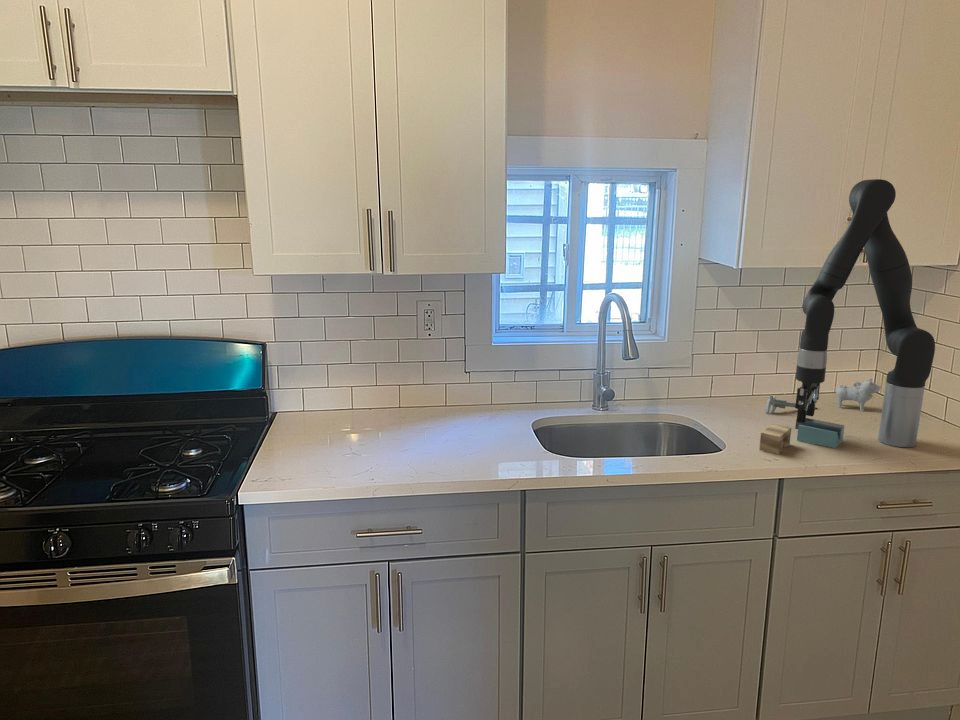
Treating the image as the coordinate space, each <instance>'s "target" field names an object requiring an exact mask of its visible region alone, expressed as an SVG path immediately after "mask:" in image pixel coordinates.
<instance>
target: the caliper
mask: <svg viewBox="0 0 960 720" xmlns="http://www.w3.org/2000/svg"><path fill="white" fill-rule="evenodd" d="M776 397H777V396H776V395H772V394H771V395H769V398H767V401H766V403H765V414H768V413H769V414H774V413H775V411H776V410H777V408H779V409H786V407H790V408H795V405H796V402H795V401H793V402H792V401H787V400H786V399H780V398H776ZM801 405H803V403H801ZM816 408H818V406H815V409H816ZM770 412H771V413H770Z"/></svg>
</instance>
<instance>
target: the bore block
mask: <svg viewBox="0 0 960 720" xmlns="http://www.w3.org/2000/svg"><path fill="white" fill-rule="evenodd" d="M791 434H792V427H789V426H786V425H785V426H784V425H780V424H774V423H773V424H771V425H770V426H768V427H766V428H765V429H764V430H763V431H761V432H760V438H759V451H762V450H763V452H766V451H767V453H772V454H775V453H776V455H779V454H781V452H782V449H783V446H784V448H787V447H789V446H790V444H791Z"/></svg>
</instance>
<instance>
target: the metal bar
mask: <svg viewBox="0 0 960 720" xmlns="http://www.w3.org/2000/svg"><path fill="white" fill-rule="evenodd" d="M799 425H803V426H809V427H814V428H819V429H824V430H829V431H834V432H838V434H837V435H838V438H841V437H842V436H843V437H844V435H845V434H844V431H845V424H840V423H835V422H829V421H824V420H820V419H814V418H808V417H806V421H805V423H799V422H797V418H796V419H795V427H794V430H798V426H799Z"/></svg>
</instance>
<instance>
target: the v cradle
mask: <svg viewBox="0 0 960 720" xmlns="http://www.w3.org/2000/svg"><path fill="white" fill-rule="evenodd" d="M837 434H838V432H834V431H829V430H824V429H819V428H814V427H809V426H803V425H799V426H798V429H797V436H796V441H797V440H799V441H798V442H802V441H803V443H807V442H808V443H807V444H812V443H813V445H816V444H819V445H818V446H821V445H824V446H823V447H826V446H828V447H827V448H831V447H832V449H836V448H837V447H838V446H839V445H840V444H841V443H842V442H843V438H844V435H843V436H842V437H841V438H838V435H837ZM841 441H842V442H841ZM840 442H841V443H840ZM839 443H840V444H839ZM838 444H839V445H838ZM837 445H838V446H837ZM836 446H837V447H836Z"/></svg>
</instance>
